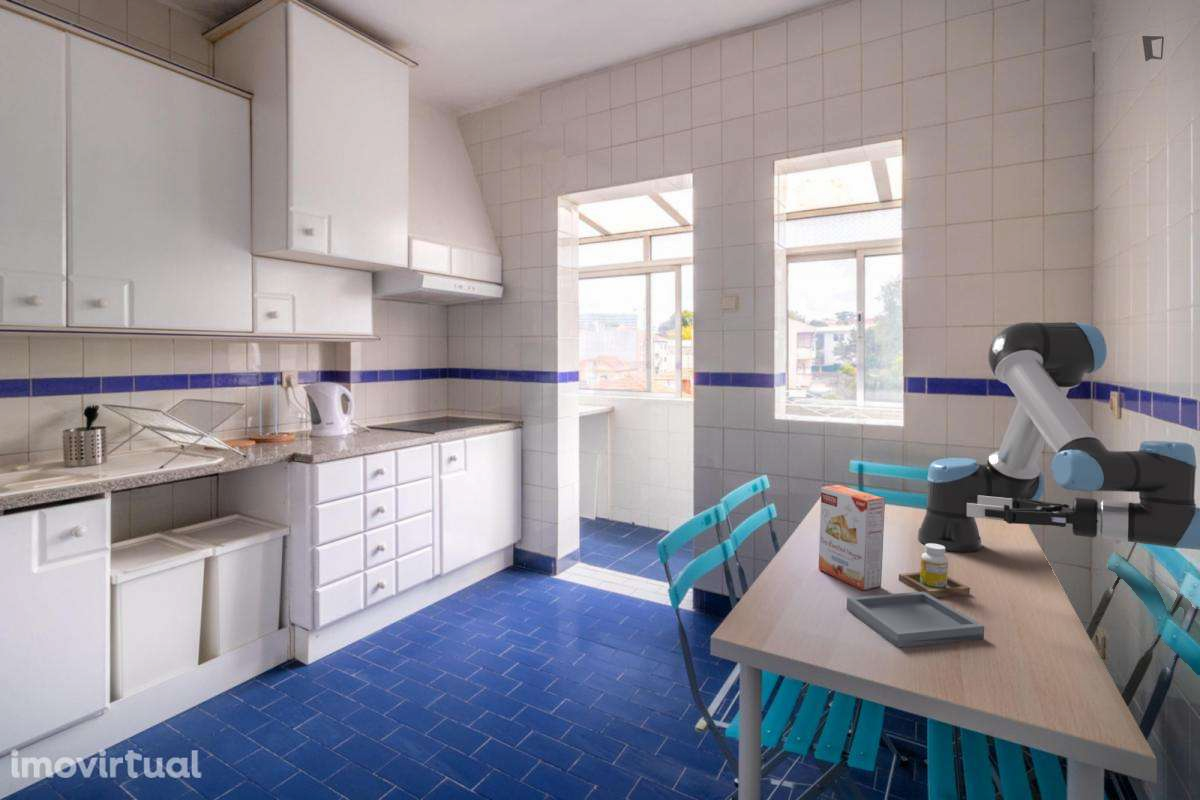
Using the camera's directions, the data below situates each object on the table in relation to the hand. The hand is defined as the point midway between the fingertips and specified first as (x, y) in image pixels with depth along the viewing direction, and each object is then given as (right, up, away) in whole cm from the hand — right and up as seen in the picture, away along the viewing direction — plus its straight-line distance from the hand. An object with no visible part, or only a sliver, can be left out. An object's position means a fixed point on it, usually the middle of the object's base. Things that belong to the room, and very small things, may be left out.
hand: (972, 505), depth 132 cm
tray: (-20, -21, -13) cm, 32 cm away
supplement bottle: (-6, -20, +5) cm, 21 cm away
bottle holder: (-6, -19, +5) cm, 21 cm away
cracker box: (-23, -19, +10) cm, 32 cm away
